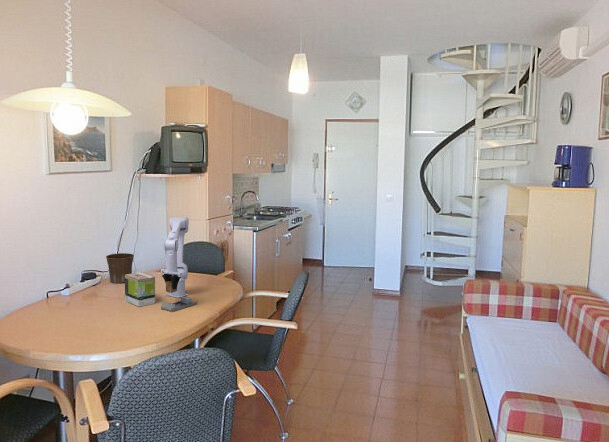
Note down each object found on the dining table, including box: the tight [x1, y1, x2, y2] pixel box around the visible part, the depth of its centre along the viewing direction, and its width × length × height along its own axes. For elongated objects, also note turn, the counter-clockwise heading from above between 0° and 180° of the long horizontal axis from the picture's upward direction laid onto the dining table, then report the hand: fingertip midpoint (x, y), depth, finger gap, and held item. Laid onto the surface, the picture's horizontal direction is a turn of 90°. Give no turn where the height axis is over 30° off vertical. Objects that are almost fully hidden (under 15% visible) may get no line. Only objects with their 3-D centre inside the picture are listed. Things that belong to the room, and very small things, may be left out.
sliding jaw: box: [180, 296, 193, 304], centre depth 250 cm, size 6×2×3 cm, turn 56°
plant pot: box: [105, 252, 135, 285], centre depth 293 cm, size 16×16×16 cm
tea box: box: [124, 271, 156, 307], centre depth 252 cm, size 15×10×15 cm
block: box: [165, 281, 177, 293], centre depth 246 cm, size 4×4×5 cm
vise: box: [160, 300, 198, 313], centre depth 246 cm, size 8×17×3 cm, turn 146°
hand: (171, 288), depth 246 cm, fingers closed on block, 4 cm apart
